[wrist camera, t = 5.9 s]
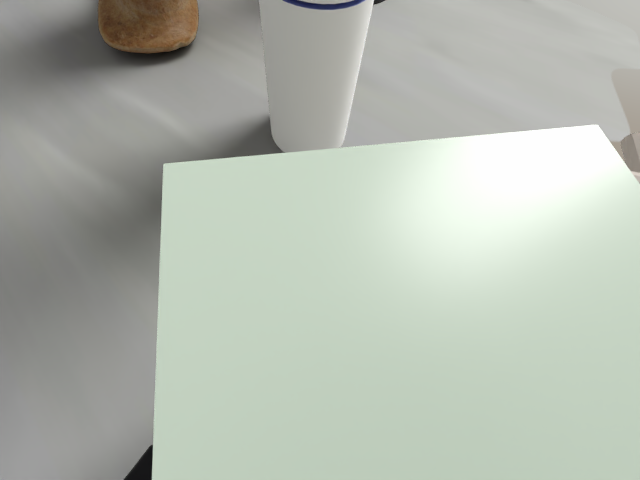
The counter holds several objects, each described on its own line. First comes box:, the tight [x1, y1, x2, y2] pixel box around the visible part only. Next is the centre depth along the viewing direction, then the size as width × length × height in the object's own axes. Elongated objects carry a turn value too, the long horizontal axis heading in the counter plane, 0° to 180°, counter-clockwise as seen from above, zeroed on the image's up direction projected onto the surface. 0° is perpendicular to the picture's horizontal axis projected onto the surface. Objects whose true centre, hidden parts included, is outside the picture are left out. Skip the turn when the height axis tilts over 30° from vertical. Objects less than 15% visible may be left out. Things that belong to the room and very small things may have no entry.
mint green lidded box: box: [152, 125, 640, 480], centre depth 8 cm, size 5×5×13 cm
